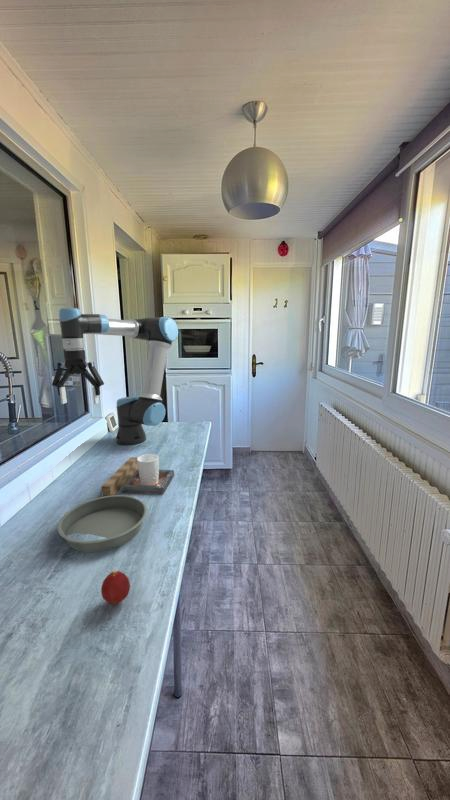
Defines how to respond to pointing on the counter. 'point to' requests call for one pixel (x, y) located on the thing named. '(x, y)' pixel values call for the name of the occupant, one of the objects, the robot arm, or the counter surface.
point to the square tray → (160, 488)
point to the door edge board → (119, 477)
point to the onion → (115, 587)
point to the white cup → (148, 469)
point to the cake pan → (103, 522)
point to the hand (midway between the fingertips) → (80, 403)
